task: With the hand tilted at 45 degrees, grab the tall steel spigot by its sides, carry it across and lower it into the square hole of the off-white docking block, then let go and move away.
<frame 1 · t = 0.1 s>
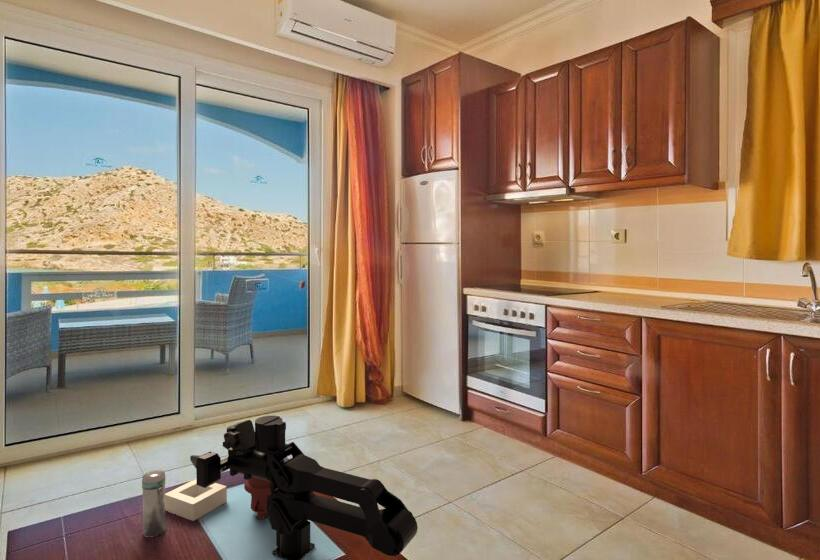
hand: (207, 450, 112), 17 cm above the table, tool horizontal, fingers open, 9 cm apart
steel spigot: (154, 531, 108), on the table
mechanical component: (266, 512, 117), on the table
docking block: (196, 506, 119), on the table
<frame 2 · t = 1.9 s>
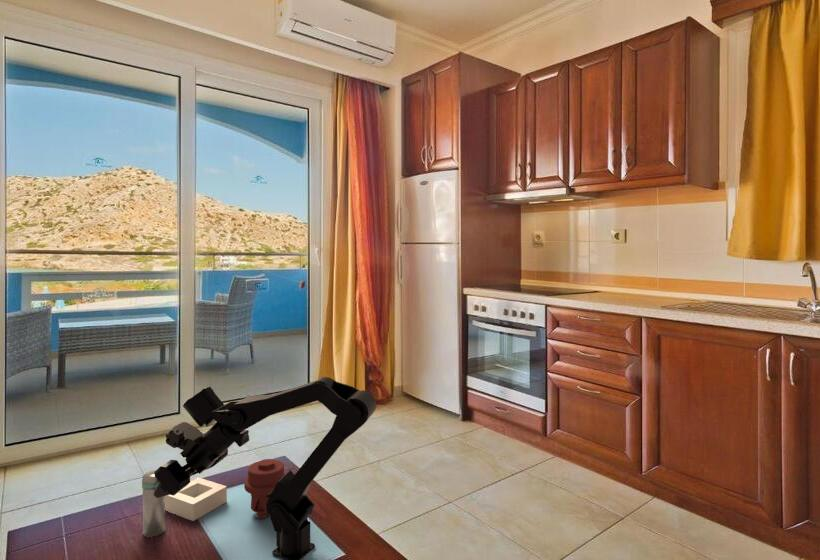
hand: (170, 485, 107), 11 cm above the table, tool tilted 45°, fingers open, 9 cm apart
nothing on the table moved.
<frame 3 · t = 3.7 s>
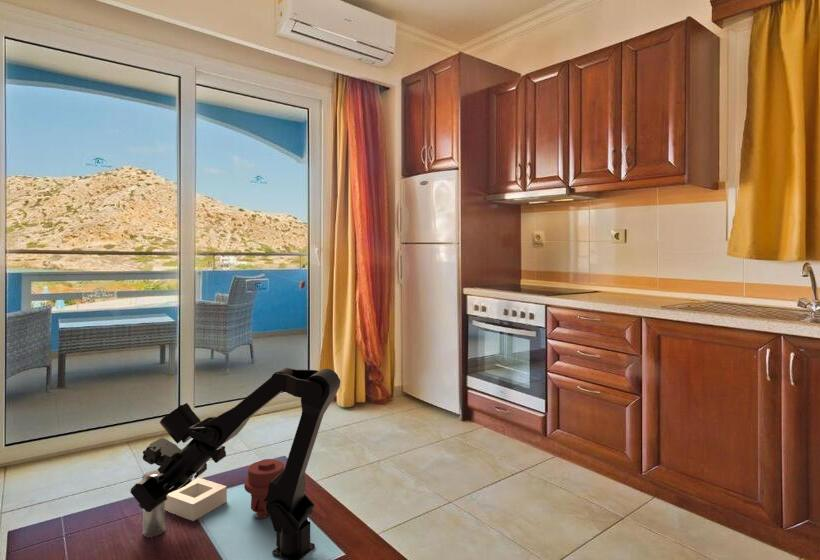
hand: (148, 501, 108), 7 cm above the table, tool tilted 45°, fingers closed on steel spigot, 4 cm apart
steel spigot: (154, 531, 108), on the table, touching gripper
everything else where it was.
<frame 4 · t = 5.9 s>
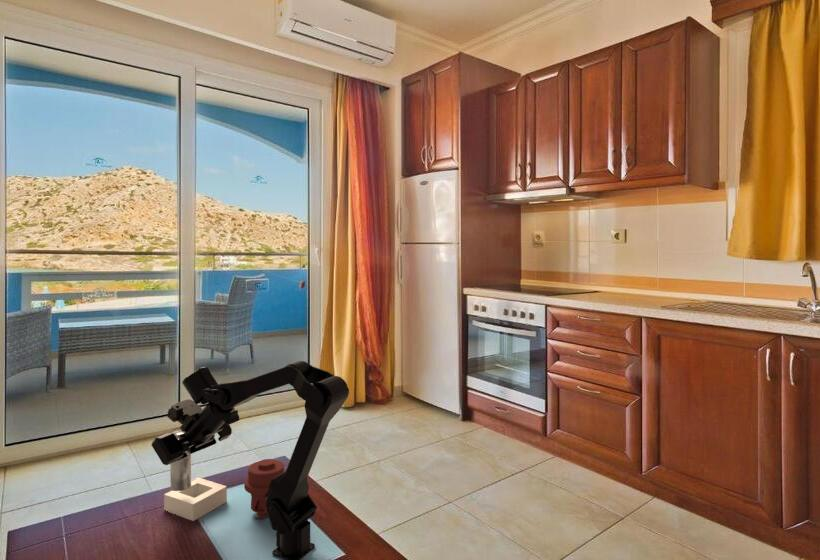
hand: (176, 457, 116), 13 cm above the table, tool tilted 45°, fingers closed on steel spigot, 4 cm apart
steel spigot: (180, 486, 115), point 7 cm above the table, touching gripper
everything else where it was.
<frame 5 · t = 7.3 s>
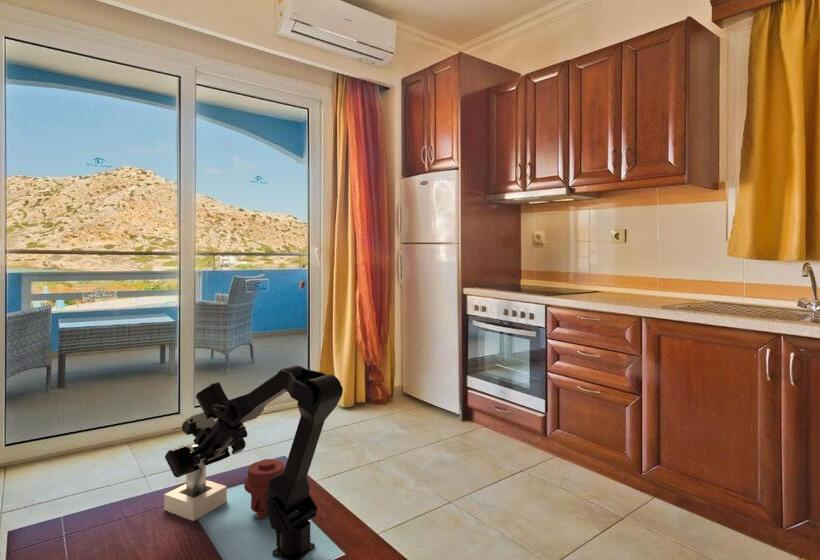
hand: (192, 468, 120), 9 cm above the table, tool tilted 45°, fingers closed on steel spigot, 4 cm apart
steel spigot: (196, 496, 119), point 2 cm above the table, touching gripper
everything else where it was.
when the fingers open (8 cm above the table, at t = 8.2 s): steel spigot drops 2 cm, resting in docking block.
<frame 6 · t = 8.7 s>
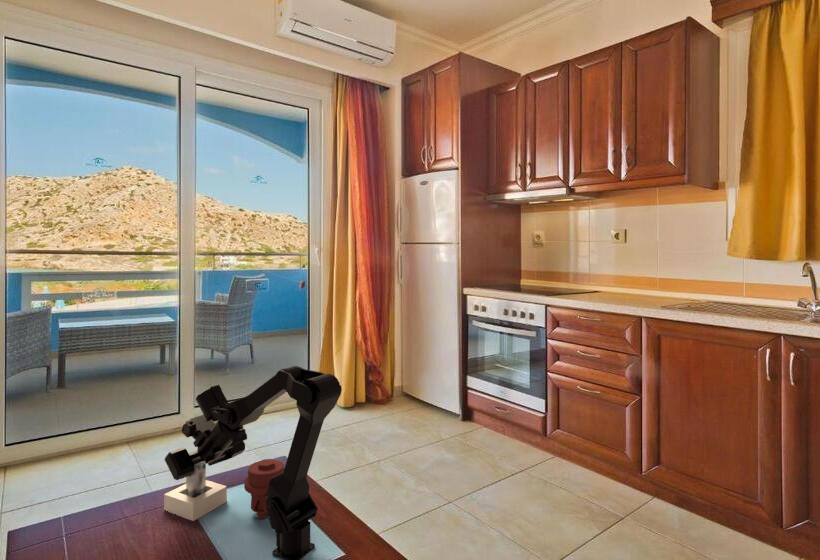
hand: (192, 470, 120), 9 cm above the table, tool tilted 45°, fingers open, 9 cm apart
steel spigot: (196, 506, 119), resting in docking block
everything else where it was.
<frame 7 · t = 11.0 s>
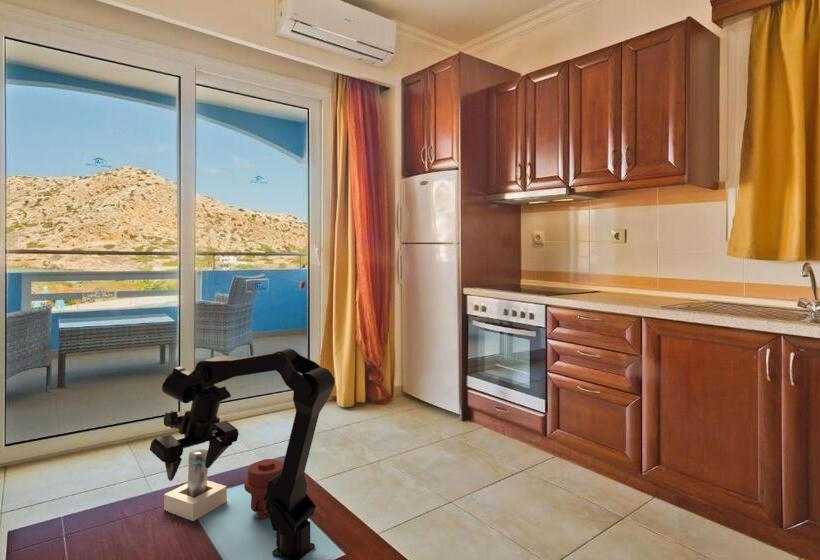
hand: (189, 473, 110), 12 cm above the table, tool tilted 15°, fingers open, 9 cm apart
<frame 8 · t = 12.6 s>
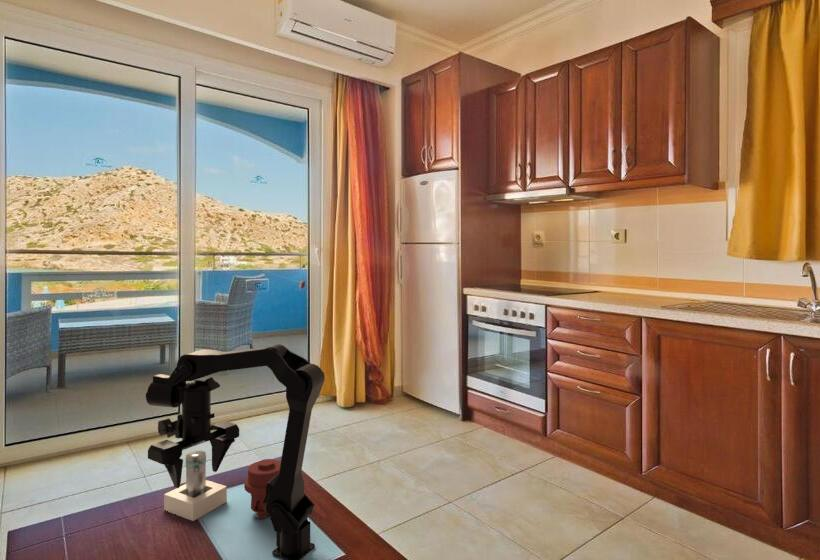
hand: (196, 479, 106), 13 cm above the table, tool pointing down, fingers open, 9 cm apart
at the end: steel spigot 0.1 cm off-centre on the docking block, point 0.0 cm above the docking block's base; steel spigot tilted 0°; the gripper is holding nothing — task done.
